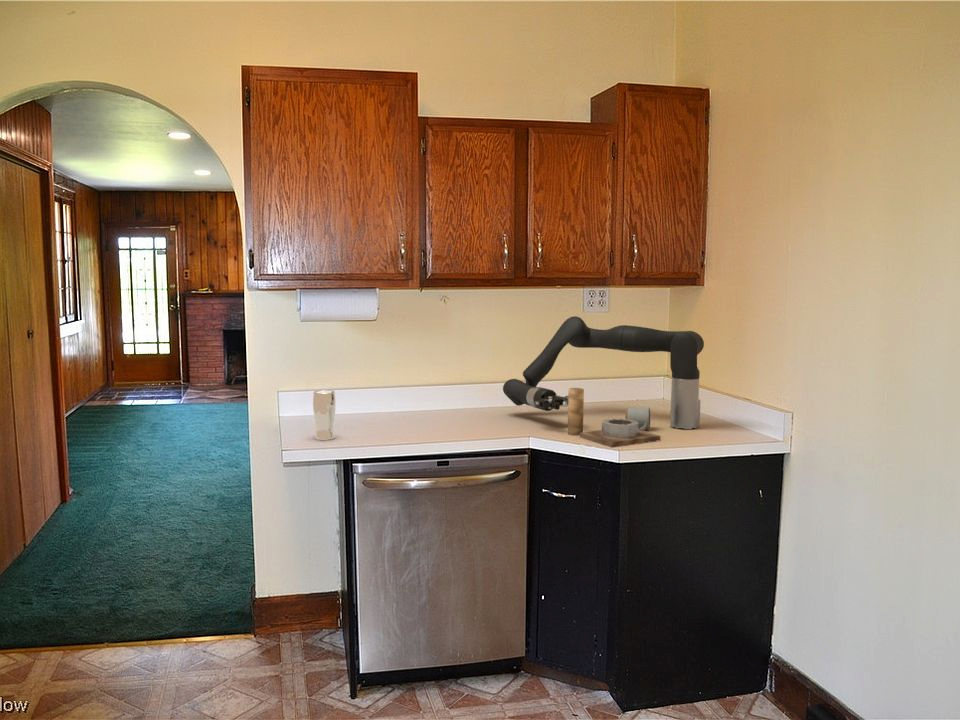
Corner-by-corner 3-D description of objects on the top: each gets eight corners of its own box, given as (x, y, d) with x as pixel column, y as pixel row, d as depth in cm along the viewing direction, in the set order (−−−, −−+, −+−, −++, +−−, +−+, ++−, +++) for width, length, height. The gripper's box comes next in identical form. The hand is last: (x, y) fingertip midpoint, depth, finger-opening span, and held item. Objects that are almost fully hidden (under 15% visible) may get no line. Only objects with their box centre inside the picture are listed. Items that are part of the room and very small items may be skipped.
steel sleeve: (621, 429, 262) (622, 417, 262) (644, 435, 253) (645, 423, 252) (595, 432, 257) (595, 420, 256) (617, 439, 247) (618, 426, 247)
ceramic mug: (626, 426, 275) (626, 404, 274) (650, 427, 273) (651, 405, 272) (623, 432, 265) (624, 410, 264) (648, 434, 263) (649, 411, 262)
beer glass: (315, 436, 256) (314, 390, 254) (337, 435, 256) (336, 390, 254) (312, 440, 249) (311, 393, 247) (334, 440, 249) (333, 393, 248)
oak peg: (576, 431, 265) (577, 387, 264) (585, 434, 261) (587, 389, 259) (564, 433, 263) (565, 388, 261) (573, 436, 259) (574, 390, 257)
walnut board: (627, 431, 267) (627, 426, 267) (660, 440, 253) (660, 435, 253) (579, 437, 257) (579, 432, 257) (611, 447, 243) (611, 442, 243)
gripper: (524, 389, 274) (552, 396, 260) (558, 386, 281) (586, 392, 267) (524, 410, 275) (551, 418, 261) (557, 407, 282) (586, 414, 268)
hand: (569, 405), depth 264 cm, fingers open, 8 cm apart
